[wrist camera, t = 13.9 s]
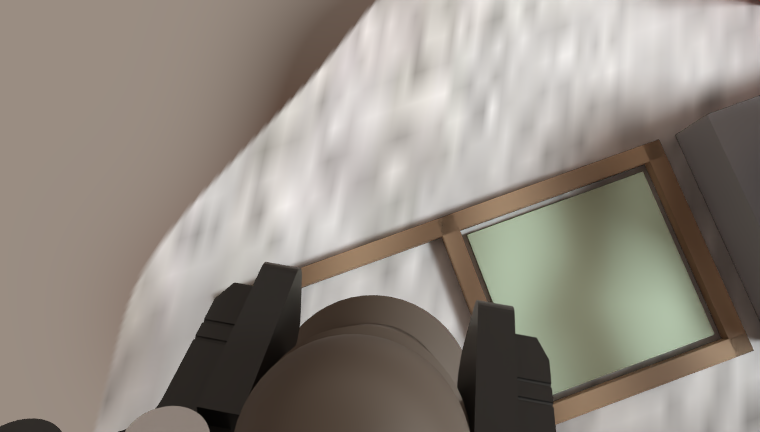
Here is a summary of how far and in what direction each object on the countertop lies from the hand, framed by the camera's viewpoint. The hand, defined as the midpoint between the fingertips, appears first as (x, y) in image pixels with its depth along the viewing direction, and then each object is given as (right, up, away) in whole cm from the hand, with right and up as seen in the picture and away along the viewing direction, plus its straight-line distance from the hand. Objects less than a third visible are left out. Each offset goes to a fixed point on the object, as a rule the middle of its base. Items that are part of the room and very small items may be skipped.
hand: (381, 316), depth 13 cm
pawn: (0, -3, +4) cm, 5 cm away
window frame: (+5, -3, +15) cm, 16 cm away
